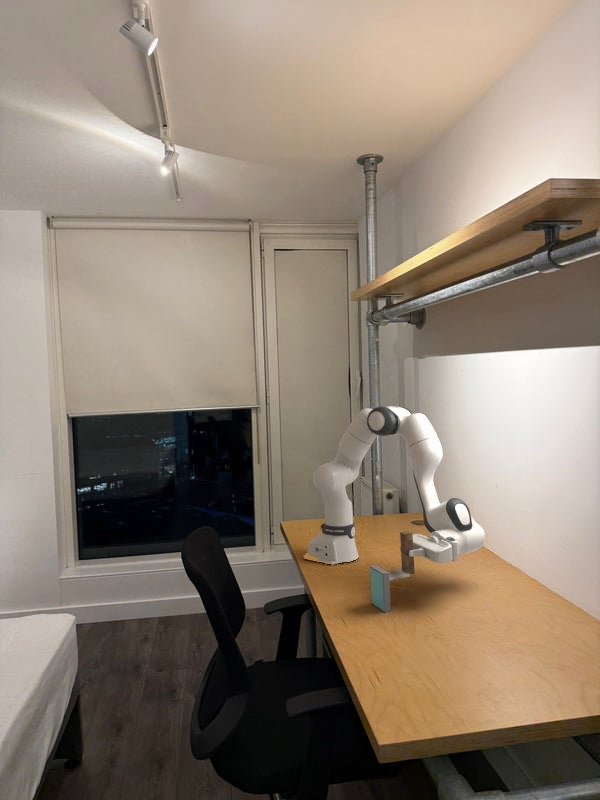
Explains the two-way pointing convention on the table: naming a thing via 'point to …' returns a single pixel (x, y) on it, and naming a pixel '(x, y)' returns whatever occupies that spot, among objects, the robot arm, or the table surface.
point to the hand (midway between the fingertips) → (404, 551)
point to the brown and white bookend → (404, 558)
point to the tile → (380, 588)
